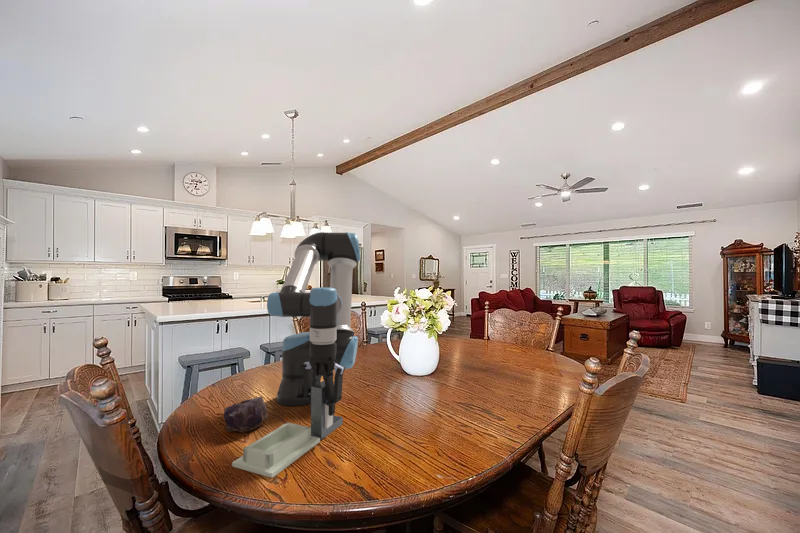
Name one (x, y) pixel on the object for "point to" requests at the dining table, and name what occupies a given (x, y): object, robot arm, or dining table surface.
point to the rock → (245, 415)
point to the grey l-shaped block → (321, 412)
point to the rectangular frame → (276, 450)
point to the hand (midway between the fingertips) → (322, 424)
